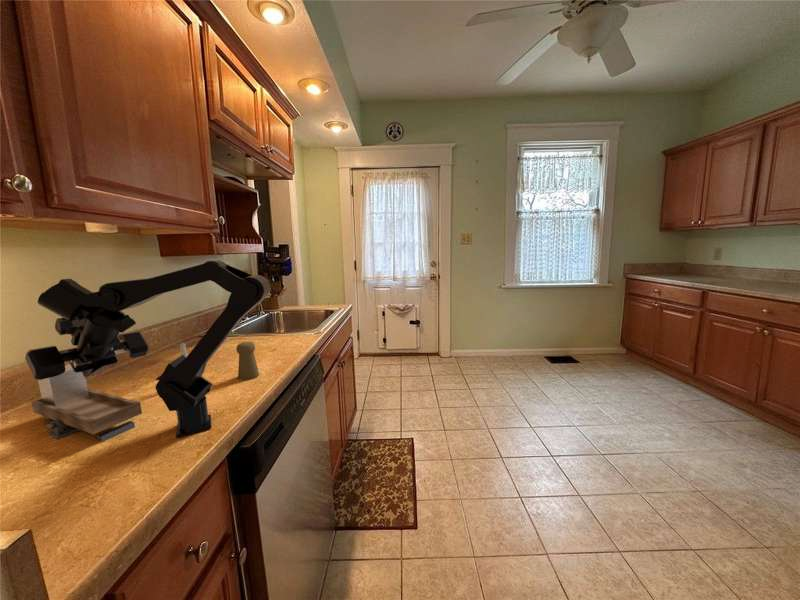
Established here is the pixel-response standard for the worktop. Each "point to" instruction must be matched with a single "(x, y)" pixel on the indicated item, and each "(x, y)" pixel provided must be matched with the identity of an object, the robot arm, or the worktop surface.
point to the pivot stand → (67, 430)
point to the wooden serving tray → (91, 411)
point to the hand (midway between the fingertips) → (85, 375)
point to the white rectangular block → (64, 388)
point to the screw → (183, 350)
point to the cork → (247, 361)
